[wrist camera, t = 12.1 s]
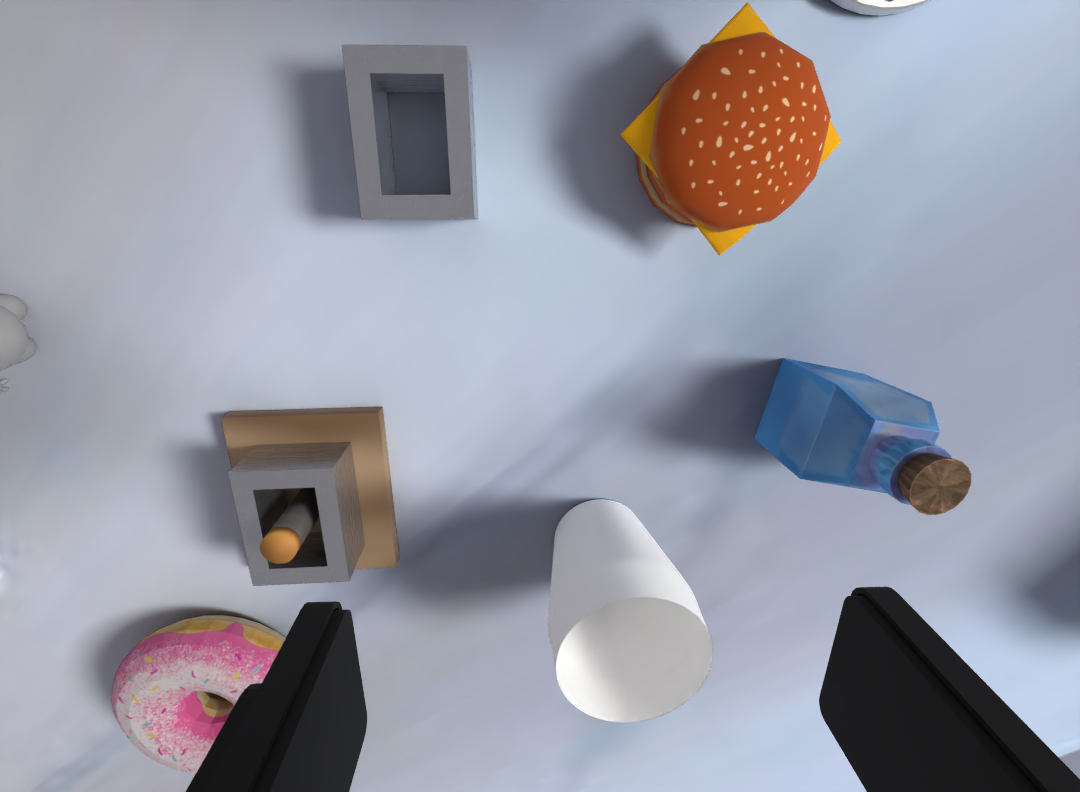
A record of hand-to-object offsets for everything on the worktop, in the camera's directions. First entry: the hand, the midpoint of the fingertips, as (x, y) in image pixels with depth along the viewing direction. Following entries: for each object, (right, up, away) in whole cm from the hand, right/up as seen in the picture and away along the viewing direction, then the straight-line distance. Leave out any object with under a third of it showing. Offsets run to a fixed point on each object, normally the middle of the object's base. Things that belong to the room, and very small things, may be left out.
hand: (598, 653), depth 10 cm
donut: (-26, -17, +32) cm, 44 cm away
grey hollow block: (-8, +19, +21) cm, 29 cm away
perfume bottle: (+18, +4, +28) cm, 33 cm away
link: (-17, -2, +26) cm, 31 cm away
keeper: (-17, -2, +27) cm, 32 cm away
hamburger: (+9, +20, +22) cm, 31 cm away
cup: (+3, -6, +30) cm, 31 cm away
